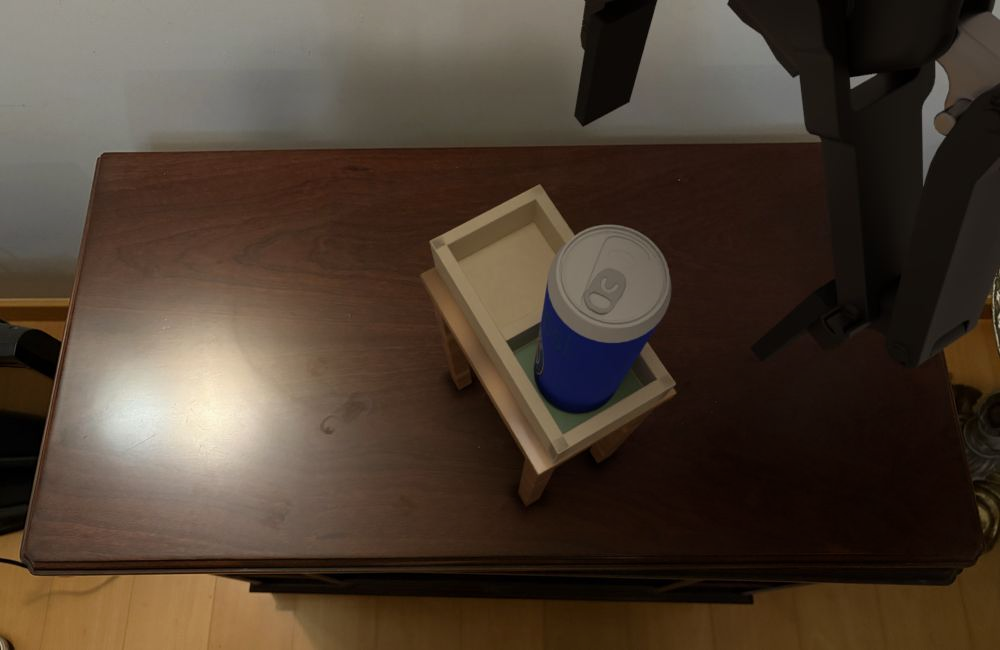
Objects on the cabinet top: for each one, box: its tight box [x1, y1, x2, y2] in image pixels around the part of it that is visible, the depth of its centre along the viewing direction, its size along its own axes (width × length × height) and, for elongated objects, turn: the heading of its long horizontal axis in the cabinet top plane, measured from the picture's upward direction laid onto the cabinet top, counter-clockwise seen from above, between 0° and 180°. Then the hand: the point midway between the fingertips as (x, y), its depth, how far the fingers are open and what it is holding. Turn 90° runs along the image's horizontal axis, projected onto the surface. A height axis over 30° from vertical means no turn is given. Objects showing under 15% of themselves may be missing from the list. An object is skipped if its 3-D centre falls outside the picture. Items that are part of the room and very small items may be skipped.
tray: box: [429, 184, 677, 464], centre depth 43 cm, size 15×8×4 cm, turn 30°
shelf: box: [419, 266, 677, 507], centre depth 57 cm, size 15×10×26 cm, turn 30°
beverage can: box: [534, 224, 672, 413], centre depth 36 cm, size 5×5×15 cm
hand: (685, 217), depth 32 cm, fingers open, 13 cm apart
